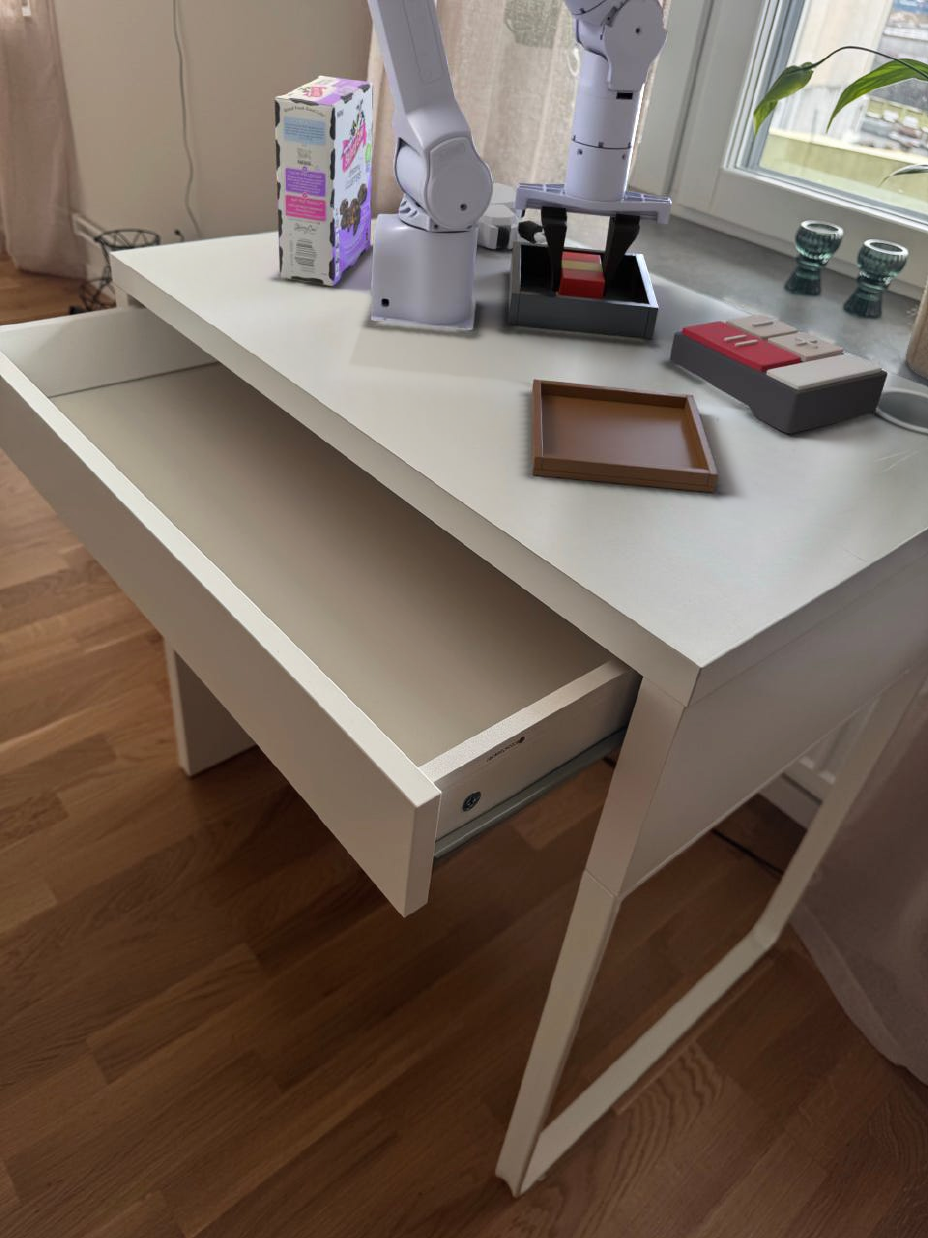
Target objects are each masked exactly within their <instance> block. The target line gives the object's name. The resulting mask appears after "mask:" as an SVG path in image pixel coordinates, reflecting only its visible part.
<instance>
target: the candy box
mask: <svg viewBox="0 0 928 1238" xmlns="http://www.w3.org/2000/svg"><path fill="white" fill-rule="evenodd" d="M274 122H275V123H274V128H275V131H274V132H275V163H276V164H275V165H276V167H275V168H276V190H277V191H276V198H277V220H278V221H277V231H278V261H279V262H278V263H279V264H278V265H279V267H278V268H279V278H282V279H289V280H294V281H299V282H305V283H306V282H307V283H312V284H318V285H323V286H328V287H333V286H336V284H337V283H338V282H339V281H340V280H341V278H342V277H344V276H345V274H347V272H348V271H349V270H350V269H351V268H352V267H354V265H355V264H356V263H357V262H358V261H359V260H360V259H361V257H362V256H363V255H365V253H366V252H367V251H368V250H369V249H370V248H371V247H372V246H371V245H372V244H371V238H372V237H371V236H372V235H371V234H372V184H373V183H372V181H373V179H372V178H373V172H372V171H373V128H374V127H373V126H374V125H373V122H374V82H372V81H364V80H358V79H357V80H356V79H349V78H343V77H334V76H325V75H318V76H317V78H316V79H313V80H312V81H310V82H307V83H304V84H303V85H300V86H299V87H296V88H295V89H293V90H290V91H288V92H286V93H284V94H282V95H277V96H275V97H274Z"/></svg>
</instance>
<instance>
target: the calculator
mask: <svg viewBox="0 0 928 1238" xmlns="http://www.w3.org/2000/svg"><path fill="white" fill-rule="evenodd" d="M669 360H670V361H671V362H673V363H675V364H677V365H678V366H679V367H682V368H683V369H685V370H687V371H688V372H689V373H692V374H693V375H695V376H697V378H700V379H702V380H703V381H704V382H706V383H708V384H710V385H712V386H713V387H715V388H717V389H719V390H720V391H721V392H723V393H725V394H727V395H728V396H730V397H731V398H733V399H735V400H737V401H739V402H741V403H742V404H744V405H745V406H748V407H749V409H750V410H751V412H752V414H753V416H754V417H755V418H756V419H758V420H760V421H762V422H764V423H766V424H768V425H770V426H771V427H773V428H776V429H777V430H778V431H782V432H783V433H785V434H795V433H799V432H801V431H806V430H810V429H814V428H818V427H822V426H825V425H831V424H834V423H837V422H841V421H845V420H850V419H854V418H858V417H862V416H866V415H869V414H873V413H876V411H877V409H878V405H879V402H880V399H881V396H882V393H883V390H884V388H885V387H884V386H885V384H886V381H887V377H888V372H887V371H886V370H883V368H882V366H880V365H877V364H876V363H873V362H871V361H869V360H866V359H863V358H861V357H860V356H857V355H855V354H851V353H844V348H843V347H841V346H839V345H836V344H834V343H833V342H829V341H827V340H825V339H822V338H820V337H818V336H815V335H813V334H811V333H808V332H805V331H801V332H799V329H798V328H797V327H794V326H791V325H790V324H787V323H784V322H782V321H780V320H777V319H775V318H773V317H770V316H768V315H766V314H763V313H760V314H753V315H748V316H742V317H736V318H735V317H734V318H730V319H726V321H725V322H724V321H713V322H712V321H711V322H707V323H701V324H695V325H687V326H683V328H682V331H676V332H675V333H674V334H673V338H672V345H671V351H670V356H669Z"/></svg>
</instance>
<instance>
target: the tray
mask: <svg viewBox="0 0 928 1238" xmlns="http://www.w3.org/2000/svg"><path fill="white" fill-rule="evenodd" d="M530 395H531V396H530V397H531V399H530V400H531V401H530V403H531V405H530V406H531V407H530V409H531V474H532V475H533V476H541V477H553V478H561V479H573V480H581V481H582V480H584V481H593V482H603V483H613V484H622V485H632V486H643V487H651V488H652V487H654V488H661V489H663V488H664V489H674V490H683V491H695V492H703V493H705V492H706V493H714V491H715V488H716V484H717V482H718V478H719V472H718V470H717V466H716V464H715V460H714V458H713V453H712V451H711V448H710V444H709V442H708V438H707V435H706V432H705V429H704V425H703V421H702V418H701V416H700V412H699V409H698V407H697V403H696V400H695V397H694V395H693V394H686V393H684V394H683V393H674V392H665V391H657V390H656V391H655V390H646V389H634V388H624V387H615V386H604V385H595V384H585V383H576V382H567V381H566V382H564V381H555V380H543V379H533V381H532V388H531V394H530Z"/></svg>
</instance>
